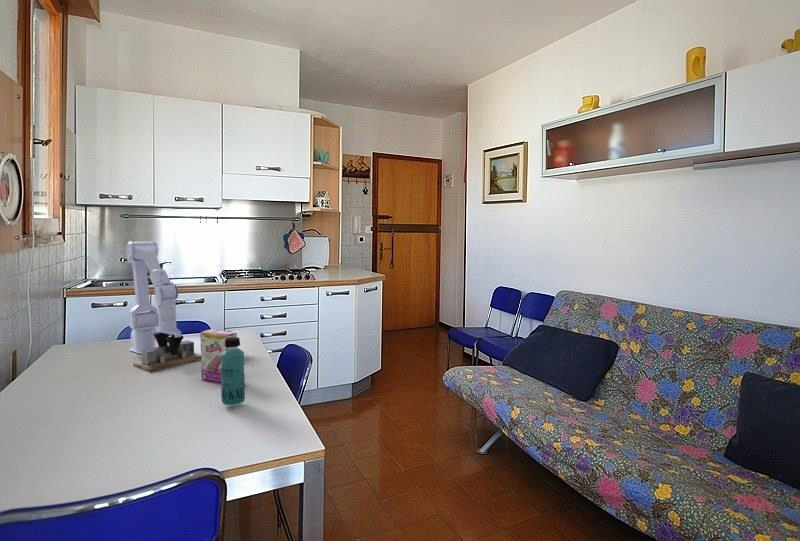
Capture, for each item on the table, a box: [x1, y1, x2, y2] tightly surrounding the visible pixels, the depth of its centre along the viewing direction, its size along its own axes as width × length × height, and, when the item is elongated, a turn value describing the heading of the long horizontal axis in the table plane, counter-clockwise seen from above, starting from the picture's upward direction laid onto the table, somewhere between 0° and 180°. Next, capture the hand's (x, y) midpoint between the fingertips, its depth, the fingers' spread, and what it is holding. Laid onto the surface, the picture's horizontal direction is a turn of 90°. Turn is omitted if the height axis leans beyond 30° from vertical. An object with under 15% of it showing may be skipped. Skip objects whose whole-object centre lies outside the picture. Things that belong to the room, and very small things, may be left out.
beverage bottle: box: [220, 336, 246, 406], centre depth 132 cm, size 6×7×20 cm
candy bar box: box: [199, 329, 238, 384], centre depth 153 cm, size 11×5×16 cm, turn 71°
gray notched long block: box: [140, 339, 195, 366], centre depth 172 cm, size 17×4×5 cm, turn 144°
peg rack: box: [132, 351, 201, 373], centre depth 172 cm, size 12×20×4 cm, turn 145°
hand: (168, 353), depth 172 cm, fingers open, 7 cm apart
